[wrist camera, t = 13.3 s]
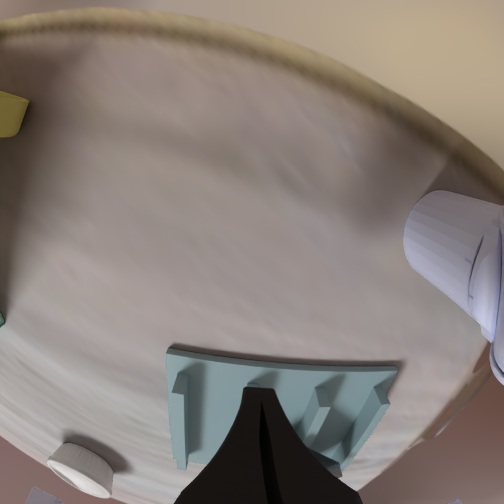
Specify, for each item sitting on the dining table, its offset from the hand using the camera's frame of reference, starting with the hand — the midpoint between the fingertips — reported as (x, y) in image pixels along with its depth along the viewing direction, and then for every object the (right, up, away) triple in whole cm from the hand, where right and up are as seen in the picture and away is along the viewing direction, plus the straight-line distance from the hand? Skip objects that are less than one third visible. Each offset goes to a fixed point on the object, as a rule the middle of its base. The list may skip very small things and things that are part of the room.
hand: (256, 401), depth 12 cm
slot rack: (+2, -11, +14) cm, 18 cm away
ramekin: (-27, -26, +19) cm, 42 cm away
